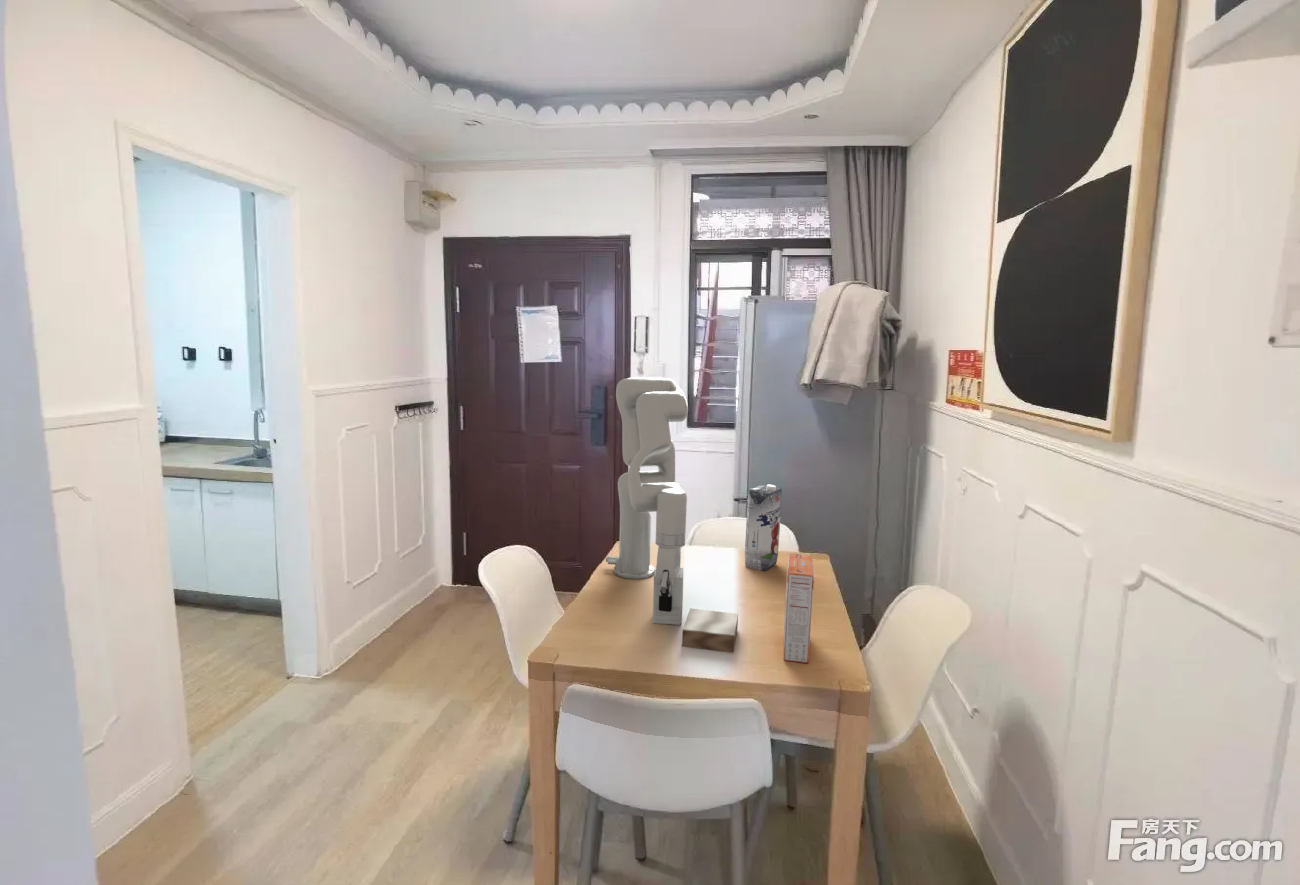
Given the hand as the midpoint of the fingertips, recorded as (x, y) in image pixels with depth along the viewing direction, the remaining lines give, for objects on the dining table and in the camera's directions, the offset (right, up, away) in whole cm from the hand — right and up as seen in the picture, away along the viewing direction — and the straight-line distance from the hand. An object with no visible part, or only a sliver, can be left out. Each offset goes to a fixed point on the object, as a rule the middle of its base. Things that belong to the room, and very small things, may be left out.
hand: (668, 603), depth 160 cm
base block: (+10, -6, -10) cm, 15 cm away
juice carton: (+31, +1, +42) cm, 52 cm away
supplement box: (0, -4, +1) cm, 4 cm away
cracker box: (+29, -7, -14) cm, 33 cm away
